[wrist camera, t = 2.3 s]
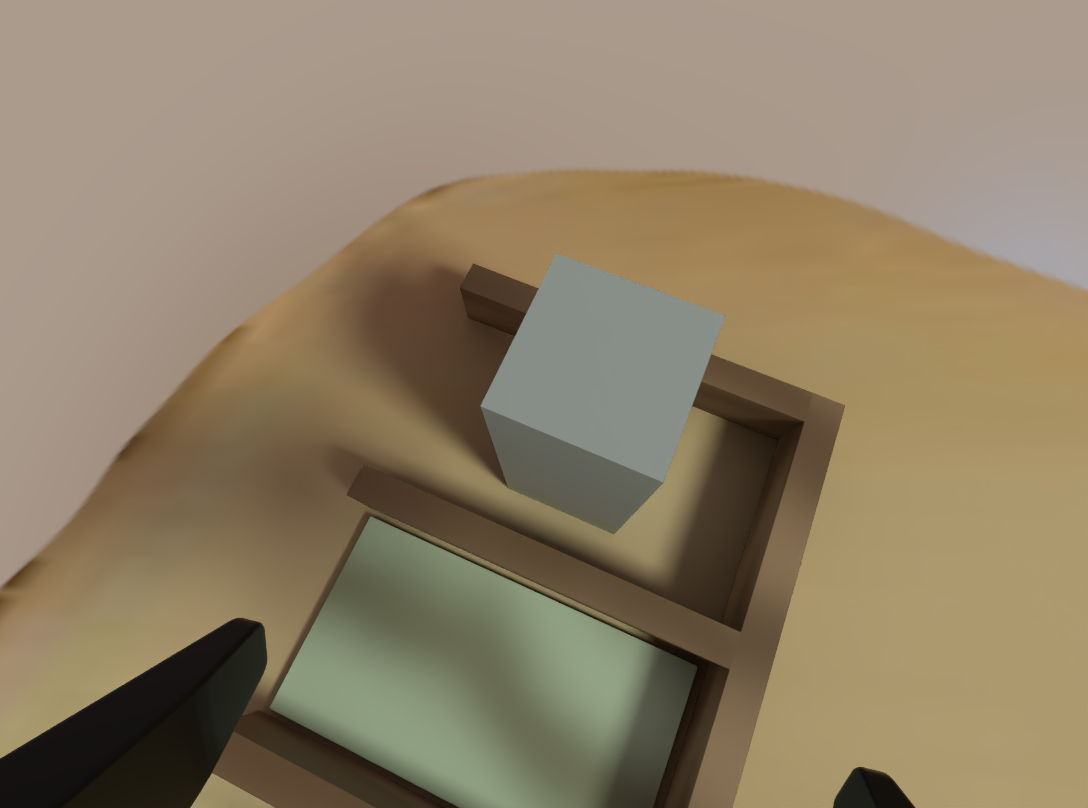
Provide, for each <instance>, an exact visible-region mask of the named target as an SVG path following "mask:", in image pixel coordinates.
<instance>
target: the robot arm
mask: <svg viewBox="0 0 1088 808" xmlns="http://www.w3.org/2000/svg"><path fill="white" fill-rule="evenodd" d="M266 665H267V649H266V639H265V629H264V626H263V625H262V623H260V622H257V621H252V620H248V619H244V618H236V619H233V620H231V621H229V622H227V623H226V624H224V625H222V626H221V627H219V628H217V629H216V630H214V631H212V632H211V633H209V634H207V635H206V636H204V637H202V638H201V639H199V640H197V641H196V642H194V643H192V644H191V645H189V646H187V647H186V648H184V649H182V650H181V651H179V652H177V653H176V654H174V655H172V656H171V657H169V658H167V659H166V660H164V661H162V662H161V663H159V664H157V665H156V666H154V667H152V668H151V669H149V670H147V671H146V672H144V673H142V674H141V675H139V676H137V677H136V678H134V679H132V680H131V681H129V682H127V683H126V684H124V685H122V686H121V687H119V688H117V689H116V690H114V691H112V692H111V693H109V694H107V695H106V696H104V697H102V698H101V699H99V700H97V701H96V702H94V703H92V704H91V705H89V706H87V707H86V708H84V709H82V710H81V711H79V712H77V713H76V714H74V715H72V716H71V717H69V718H67V719H66V720H64V721H62V722H61V723H59V724H57V725H56V726H54V727H52V728H51V729H49V730H47V731H46V732H44V733H42V734H41V735H39V736H37V737H36V738H34V739H32V740H31V741H29V742H27V743H26V744H24V745H22V746H21V747H19V748H17V749H16V750H14V751H12V752H11V753H9V754H7V755H5V756H4V757H2V758H0V808H190V807H191V806H192V804H193V803H194V801H195V800H196V798H197V796H198V795H199V793H200V792H201V790H202V788H203V787H204V785H205V784H206V782H207V780H208V779H209V777H210V775H211V773H212V772H213V770H214V768H215V766H216V764H217V762H218V761H219V759H220V757H221V755H222V753H223V751H224V749H225V747H226V745H227V743H228V741H229V740H230V738H231V736H232V734H233V732H234V730H235V728H236V726H237V724H238V722H239V720H240V718H241V716H242V714H243V712H244V711H245V709H246V707H247V705H248V703H249V701H250V699H251V697H252V695H253V693H254V691H255V689H256V687H257V685H258V683H259V682H260V680H261V678H262V676H263V674H264V671H265V668H266ZM833 808H915V807H914V805H913V804H912V803H911V801H910V800H909V799H908V798H907V796H906V795H905V794H904V793H903V791H902V790H901V789H900V788H899V786H898V785H897V784H896V783H895V781H894V780H893V779H892V778H891V777H890V776H889V775H887V774H886V773H883V772H880V771H876V770H872V769H868V768H864V767H857V768H855V769H854V770H853V771H852V772H851V774H850V775H849V777H848V779H847V780H846V782H845V783H844V785H843V786H842V788H841V789H840V791H839V793H838V794H837V796H836V798H835V801H834V806H833Z"/></svg>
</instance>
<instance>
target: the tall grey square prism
mask: <svg viewBox="0 0 1088 808" xmlns="http://www.w3.org/2000/svg"><path fill="white" fill-rule="evenodd" d="M724 319H725V315H722V314H720V313H717V312H714V311H712V310H709V309H706V308H703V307H701V306H698V305H695V304H693V303H690V302H687V301H685V300H682V299H679V298H676V297H674V296H671V295H668V294H666V293H663V292H660V291H657V290H655V289H652V288H649V287H647V286H644V285H641V284H638V283H636V282H633V281H630V280H628V279H625V278H622V277H620V276H617V275H614V274H611V273H609V272H606V271H603V270H601V269H598V268H595V267H592V266H590V265H587V264H584V263H582V262H579V261H576V260H574V259H571V258H568V257H565V256H563V255H560V254H557V253H556V255H555V257H554V259H553V261H552V263H551V265H550V267H549V269H548V271H547V273H546V275H545V277H544V279H543V281H542V283H541V285H540V287H539V289H538V291H537V293H536V295H535V297H534V299H533V301H532V303H531V305H530V307H529V309H528V311H527V313H526V315H525V317H524V320H523V322H522V324H521V326H520V328H519V330H518V332H517V334H516V336H515V338H514V340H513V342H512V344H511V346H510V348H509V350H508V352H507V354H506V356H505V358H504V360H503V362H502V364H501V366H500V368H499V370H498V372H497V374H496V376H495V378H494V380H493V382H492V384H491V386H490V388H489V390H488V392H487V394H486V396H485V398H484V400H483V402H482V404H481V406H480V407H481V409H482V412H483V415H484V418H485V421H486V424H487V427H488V430H489V433H490V436H491V439H492V442H493V445H494V448H495V451H496V454H497V457H498V460H499V463H500V465H501V468H502V471H503V474H504V477H505V480H506V483H507V486H508V488H509V489H511V490H514V491H516V492H518V493H521V494H523V495H525V496H528V497H530V498H532V499H534V500H537V501H539V502H541V503H544V504H546V505H548V506H551V507H553V508H555V509H557V510H560V511H562V512H564V513H567V514H569V515H571V516H574V517H576V518H578V519H580V520H583V521H585V522H587V523H590V524H592V525H594V526H597V527H599V528H601V529H603V530H606V531H608V532H610V533H613V534H615V533H616V532H617V531H618V530H619V529H620V528H621V527H622V526H623V524H624V523H625V522H626V521H627V520H628V519H629V518H630V517H631V516H632V515H633V514H634V513H635V512H636V511H637V510H638V509H639V508H640V507H641V506H642V505H643V504H644V503H645V501H646V500H647V499H648V498H649V497H650V496H651V495H652V494H653V493H654V492H655V491H656V490H657V489H658V488H659V487H660V486H661V485H662V484H663V483H664V480H665V477H666V475H667V472H668V469H669V467H670V464H671V461H672V459H673V456H674V453H675V450H676V448H677V445H678V442H679V440H680V437H681V434H682V432H683V429H684V426H685V424H686V421H687V418H688V415H689V413H690V410H691V407H692V405H693V402H694V399H695V397H696V394H697V391H698V389H699V386H700V383H701V380H702V378H703V375H704V372H705V370H706V367H707V364H708V362H709V359H710V356H711V354H712V351H713V348H714V345H715V343H716V340H717V337H718V335H719V332H720V329H721V327H722V324H723V321H724Z"/></svg>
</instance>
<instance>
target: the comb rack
mask: <svg viewBox="0 0 1088 808" xmlns="http://www.w3.org/2000/svg"><path fill="white" fill-rule="evenodd" d="M460 289H461V293H462V296H463V300H464V304H465V307H466V311H467V315H468V317H469V318H471V319H474V320H477V321H479V322H482V323H484V324H487V325H489V326H492V327H494V328H497V329H499V330H502V331H504V332H507V333H509V334H512V335H514V336H516V334H517V332H518V330H519V328H520V326H521V324H522V322H523V320H524V317H525V315H526V313H527V311H528V309H529V307H530V305H531V303H532V301H533V299H534V297H535V295H536V293H537V291H538V288H536V287H533V286H530V285H528V284H525V283H523V282H520V281H517V280H515V279H512V278H509V277H507V276H504V275H502V274H499V273H496V272H494V271H491V270H488V269H486V268H483V267H481V266H478V265H475V264H473V265H472V267H471V269H470V271H469V272H468V274H467V276H466V278H465V280H464V282H463V283H462V285H461V287H460ZM692 406H694V407H697V408H699V409H702V410H704V411H707V412H709V413H712V414H714V415H717V416H719V417H722V418H724V419H727V420H729V421H732V422H735V423H737V424H740V425H742V426H745V427H747V428H750V429H752V430H755V431H757V432H760V433H762V434H765V435H767V436H770V437H772V438H775V439H778V444H777V447H776V450H775V453H774V456H773V460H772V463H771V466H770V469H769V472H768V476H767V479H766V482H765V485H764V488H763V491H762V495H761V498H760V501H759V504H758V507H757V511H756V514H755V517H754V520H753V523H752V527H751V530H750V533H749V536H748V539H747V542H746V546H745V549H744V552H743V555H742V558H741V562H740V565H739V568H738V571H737V574H736V578H735V581H734V584H733V587H732V590H731V593H730V597H729V600H728V603H727V606H726V609H725V613H724V616H723V619H722V622H721V623H719V622H717V621H714V620H712V619H710V618H708V617H705V616H703V615H701V614H699V613H697V612H694V611H692V610H690V609H688V608H685V607H683V606H681V605H679V604H676V603H674V602H672V601H670V600H667V599H665V598H663V597H661V596H658V595H656V594H654V593H652V592H649V591H647V590H645V589H643V588H640V587H638V586H636V585H634V584H631V583H629V582H627V581H625V580H622V579H620V578H618V577H616V576H613V575H611V574H609V573H607V572H604V571H602V570H600V569H598V568H596V567H593V566H591V565H589V564H587V563H584V562H582V561H580V560H578V559H575V558H573V557H571V556H569V555H566V554H564V553H562V552H560V551H557V550H555V549H553V548H551V547H548V546H546V545H544V544H542V543H539V542H537V541H535V540H533V539H530V538H528V537H526V536H524V535H521V534H519V533H517V532H515V531H512V530H510V529H508V528H506V527H503V526H501V525H499V524H497V523H495V522H492V521H490V520H488V519H486V518H483V517H481V516H479V515H477V514H474V513H472V512H470V511H468V510H465V509H463V508H461V507H459V506H456V505H454V504H452V503H450V502H447V501H445V500H443V499H441V498H438V497H436V496H434V495H432V494H429V493H427V492H425V491H423V490H420V489H418V488H416V487H414V486H411V485H409V484H407V483H405V482H402V481H400V480H398V479H396V478H394V477H391V476H389V475H387V474H385V473H382V472H380V471H378V470H376V469H373V468H371V467H369V466H367V465H364V464H363V466H362V468H361V469H360V471H359V473H358V475H357V477H356V479H355V480H354V482H353V484H352V486H351V488H350V490H349V491H348V493H347V495H348V496H350V497H352V498H353V499H355V500H357V501H359V502H361V503H363V504H364V505H366V506H368V507H370V508H373V509H375V510H377V511H379V512H381V513H384V514H386V515H388V516H390V517H392V518H395V519H397V520H399V521H401V522H403V523H406V524H408V525H410V526H412V527H414V528H416V529H419V530H421V531H423V532H425V533H427V534H430V535H432V536H434V537H436V538H438V539H441V540H443V541H445V542H447V543H449V544H452V545H454V546H456V547H458V548H460V549H462V550H465V551H467V552H469V553H471V554H473V555H476V556H478V557H480V558H482V559H484V560H487V561H489V562H491V563H493V564H495V565H498V566H500V567H502V568H504V569H506V570H509V571H511V572H513V573H515V574H517V575H519V576H522V577H524V578H526V579H528V580H530V581H533V582H535V583H537V584H539V585H541V586H544V587H546V588H548V589H550V590H552V591H555V592H557V593H559V594H561V595H563V596H566V597H568V598H570V599H572V600H574V601H576V602H579V603H581V604H583V605H585V606H587V607H590V608H592V609H594V610H596V611H598V612H601V613H603V614H605V615H607V616H609V617H612V618H614V619H616V620H618V621H620V622H622V623H625V624H627V625H629V626H631V627H633V628H636V629H638V630H640V631H642V632H644V633H647V634H649V635H651V636H653V637H655V638H658V639H660V640H662V641H664V642H666V643H669V644H671V645H673V646H675V647H677V648H679V649H682V650H684V651H686V652H688V653H690V654H693V655H695V656H697V657H699V658H701V659H704V660H706V661H708V662H709V664H708V667H707V670H706V673H705V676H704V680H703V683H702V686H701V689H700V692H699V695H698V699H697V702H696V705H695V708H694V711H693V715H692V718H691V721H690V724H689V727H688V731H687V734H686V737H685V740H684V743H683V747H682V750H681V753H680V756H679V759H678V762H677V766H676V769H675V772H674V775H673V778H672V782H671V785H670V788H669V791H668V794H667V798H666V801H665V804H664V807H663V808H732V807H733V804H734V800H735V797H736V793H737V789H738V786H739V782H740V779H741V775H742V772H743V768H744V764H745V761H746V757H747V754H748V750H749V747H750V743H751V740H752V736H753V732H754V729H755V725H756V722H757V718H758V715H759V711H760V707H761V704H762V700H763V697H764V693H765V690H766V686H767V682H768V679H769V675H770V672H771V668H772V665H773V661H774V658H775V654H776V650H777V647H778V643H779V640H780V636H781V633H782V629H783V625H784V622H785V618H786V615H787V611H788V608H789V604H790V600H791V597H792V593H793V590H794V586H795V583H796V579H797V576H798V572H799V568H800V565H801V561H802V558H803V554H804V551H805V547H806V543H807V540H808V536H809V533H810V529H811V526H812V522H813V518H814V515H815V511H816V508H817V504H818V501H819V497H820V494H821V490H822V486H823V483H824V479H825V476H826V472H827V469H828V465H829V461H830V458H831V454H832V451H833V447H834V444H835V440H836V436H837V433H838V429H839V426H840V422H841V419H842V415H843V412H844V408H845V405H843V404H840V403H838V402H835V401H832V400H830V399H827V398H825V397H822V396H819V395H817V394H814V393H811V392H809V391H806V390H804V389H801V388H798V387H796V386H793V385H790V384H788V383H785V382H783V381H780V380H777V379H775V378H772V377H769V376H767V375H764V374H762V373H759V372H756V371H754V370H751V369H748V368H746V367H743V366H741V365H738V364H735V363H733V362H730V361H727V360H725V359H722V358H720V357H717V356H714V355H712V354H711V356H710V359H709V362H708V364H707V367H706V370H705V372H704V375H703V378H702V380H701V383H700V386H699V389H698V391H697V394H696V397H695V399H694V402H693V405H692ZM697 667H698V666H696V665H694V664H692V663H689V662H687V661H685V660H683V659H681V658H678V657H676V656H674V655H672V654H670V653H668V652H665V651H663V650H661V649H659V648H657V647H655V646H652V645H650V644H648V643H646V642H644V641H641V640H639V639H637V638H635V637H633V636H631V635H628V634H626V633H624V632H622V631H620V630H617V629H615V628H613V627H611V626H609V625H607V624H604V623H602V622H600V621H598V620H596V619H593V618H591V617H589V616H587V615H585V614H583V613H580V612H578V611H576V610H574V609H572V608H569V607H567V606H565V605H563V604H561V603H559V602H556V601H554V600H552V599H550V598H548V597H545V596H543V595H541V594H539V593H537V592H535V591H532V590H530V589H528V588H526V587H524V586H521V585H519V584H517V583H515V582H513V581H511V580H508V579H506V578H504V577H502V576H500V575H497V574H495V573H493V572H491V571H489V570H487V569H484V568H482V567H480V566H478V565H476V564H474V563H471V562H469V561H467V560H465V559H463V558H460V557H458V556H456V555H454V554H452V553H450V552H447V551H445V550H443V549H441V548H439V547H436V546H434V545H432V544H430V543H428V542H426V541H423V540H421V539H419V538H417V537H415V536H412V535H410V534H408V533H406V532H404V531H402V530H399V529H397V528H395V527H393V526H391V525H388V524H386V523H384V522H382V521H380V520H378V519H375V518H373V517H371V516H370V518H369V520H368V522H367V524H366V526H365V528H364V530H363V531H362V533H361V535H360V537H359V539H358V541H357V543H356V545H355V547H354V549H353V550H352V552H351V554H350V556H349V558H348V560H347V562H346V564H345V566H344V567H343V569H342V571H341V573H340V575H339V577H338V579H337V581H336V583H335V585H334V586H333V588H332V590H331V592H330V594H329V596H328V598H327V600H326V602H325V603H324V605H323V607H322V609H321V611H320V613H319V615H318V617H317V619H316V620H315V622H314V624H313V626H312V628H311V630H310V632H309V634H308V636H307V638H306V639H305V641H304V643H303V645H302V647H301V649H300V651H299V653H298V655H297V656H296V658H295V660H294V662H293V664H292V666H291V668H290V670H289V672H288V673H287V675H286V677H285V679H284V681H283V683H282V685H281V687H280V689H279V691H278V692H277V694H276V696H275V698H274V700H273V702H272V704H271V706H270V709H272V710H274V711H276V712H277V713H279V714H281V715H283V716H285V717H287V718H289V719H291V720H293V721H295V722H297V723H298V724H300V725H302V726H304V727H306V728H308V729H310V730H312V731H314V732H316V733H318V734H319V735H321V736H323V737H325V738H327V739H329V740H331V741H333V742H335V743H337V744H339V745H340V746H342V747H344V748H346V749H348V750H350V751H352V752H354V753H356V754H358V755H360V756H361V757H363V758H365V759H367V760H369V761H371V762H373V763H375V764H377V765H379V766H381V767H382V768H384V769H386V770H388V771H390V772H392V773H394V774H396V775H398V776H400V777H402V778H403V779H405V780H407V781H409V782H411V783H413V784H415V785H417V786H419V787H421V788H423V789H424V790H426V791H428V792H430V793H432V794H434V795H436V796H438V797H440V798H442V799H444V800H445V801H447V802H449V803H451V804H453V805H455V806H457V807H459V808H653V805H654V802H655V799H656V796H657V793H658V790H659V787H660V783H661V780H662V777H663V774H664V771H665V768H666V765H667V761H668V758H669V755H670V752H671V749H672V746H673V743H674V739H675V736H676V733H677V730H678V727H679V724H680V721H681V717H682V714H683V711H684V708H685V705H686V702H687V699H688V696H689V692H690V689H691V686H692V683H693V680H694V677H695V674H696V670H697ZM212 773H213V774H215V775H217V776H219V777H221V778H222V779H224V780H226V781H228V782H230V783H232V784H233V785H235V786H237V787H239V788H241V789H242V790H244V791H246V792H248V793H250V794H252V795H253V796H255V797H257V798H259V799H261V800H262V801H264V802H266V803H268V804H270V805H272V806H273V807H275V808H443V807H442V806H440V805H438V804H436V803H434V802H432V801H430V800H428V799H426V798H424V797H422V796H421V795H419V794H417V793H415V792H413V791H411V790H409V789H407V788H405V787H403V786H402V785H400V784H398V783H396V782H394V781H392V780H390V779H388V778H386V777H384V776H383V775H381V774H379V773H377V772H375V771H373V770H371V769H369V768H367V767H365V766H364V765H362V764H360V763H358V762H356V761H354V760H352V759H350V758H348V757H346V756H345V755H343V754H341V753H339V752H337V751H335V750H333V749H331V748H329V747H327V746H326V745H324V744H322V743H320V742H318V741H316V740H314V739H312V738H310V737H308V736H307V735H305V734H303V733H301V732H299V731H297V730H295V729H293V728H291V727H289V726H287V725H286V724H284V723H282V722H280V721H278V720H276V719H274V718H272V717H270V716H268V715H267V714H265V713H263V712H261V711H259V710H258V711H256V712H253V713H250V714H248V715H245V716H242V717H241V718H240V720H239V722H238V724H237V726H236V728H235V730H234V732H233V734H232V736H231V738H230V740H229V741H228V743H227V745H226V747H225V749H224V751H223V753H222V755H221V757H220V759H219V761H218V762H217V764H216V766H215V768H214V770H213V772H212Z"/></svg>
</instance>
